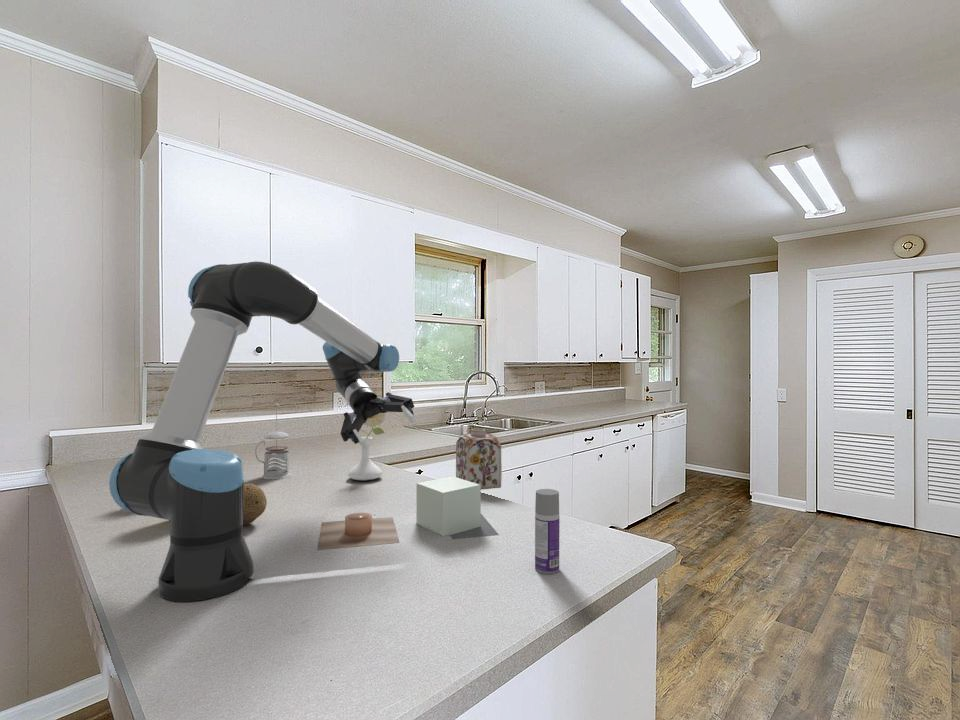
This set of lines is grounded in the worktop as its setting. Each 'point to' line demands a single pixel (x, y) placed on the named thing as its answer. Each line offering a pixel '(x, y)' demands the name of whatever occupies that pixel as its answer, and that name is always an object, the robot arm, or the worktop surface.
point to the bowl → (358, 524)
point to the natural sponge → (252, 503)
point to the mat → (477, 531)
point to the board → (336, 537)
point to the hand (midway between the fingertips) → (389, 432)
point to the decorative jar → (479, 459)
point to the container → (547, 531)
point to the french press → (275, 456)
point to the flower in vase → (365, 466)
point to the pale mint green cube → (448, 505)
